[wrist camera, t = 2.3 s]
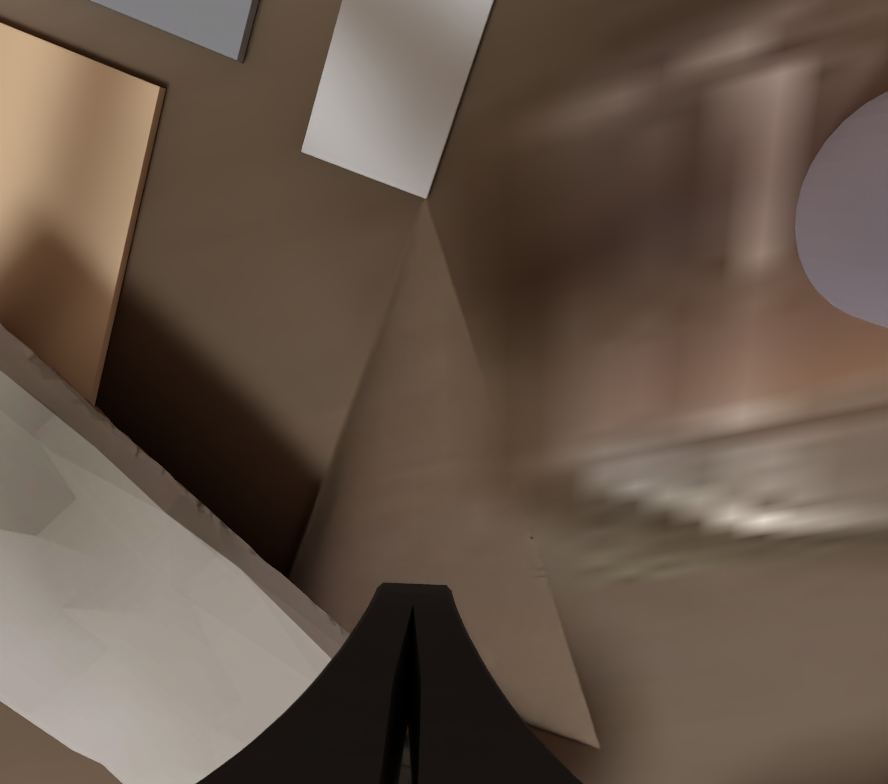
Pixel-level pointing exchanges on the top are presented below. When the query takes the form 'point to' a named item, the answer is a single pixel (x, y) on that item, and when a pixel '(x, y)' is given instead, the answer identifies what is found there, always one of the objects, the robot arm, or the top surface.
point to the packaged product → (133, 596)
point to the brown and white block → (394, 87)
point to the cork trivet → (68, 198)
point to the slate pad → (196, 21)
